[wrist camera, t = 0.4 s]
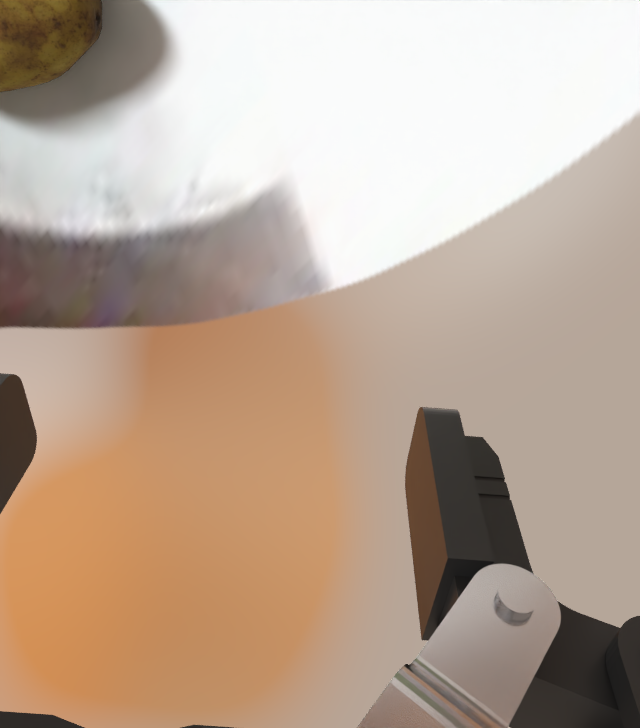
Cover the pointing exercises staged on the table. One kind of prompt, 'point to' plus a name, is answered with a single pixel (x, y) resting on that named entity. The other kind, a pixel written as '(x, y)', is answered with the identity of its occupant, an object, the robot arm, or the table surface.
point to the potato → (44, 38)
